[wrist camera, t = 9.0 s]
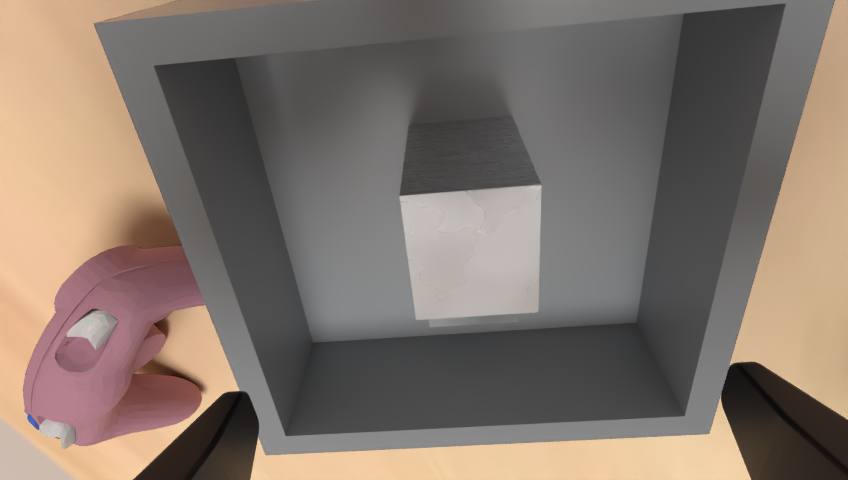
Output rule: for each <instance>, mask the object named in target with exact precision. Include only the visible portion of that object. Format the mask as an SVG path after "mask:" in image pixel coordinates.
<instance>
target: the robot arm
mask: <svg viewBox="0 0 848 480" xmlns="http://www.w3.org/2000/svg"><path fill="white" fill-rule="evenodd" d="M721 402H722V406H723V409H724V412H725V414H726V417H727V419H728V422H729V424H730V427H731V429H732V432H733V435H734V437H735V440H736V442H737V445H738V447H739V450H740V452H741V455H742V457H743V460H744V463H745V465H746V468H747V470H748V473H749V475H750V478H751V480H848V420H847V419H846V418H844V417H843V416H841V415H839V414H838V413H836V412H835V411H833V410H832V409H830V408H828V407H827V406H825V405H824V404H822V403H821V402H819V401H817V400H816V399H814V398H813V397H811V396H810V395H808V394H806V393H805V392H803V391H802V390H800V389H799V388H797V387H795V386H794V385H792V384H791V383H789V382H788V381H786V380H784V379H783V378H781V377H780V376H778V375H777V374H775V373H773V372H772V371H770V370H769V369H767V368H766V367H764V366H763V365H761V364H759V363H756V362H741V363H733V364H732V365H731V366H730V367H729V369H728V373H727V376H726V379H725V383H724V386H723V390H722V394H721ZM258 434H259V420H258V417H257V414H256V411H255V409H254V406H253V404H252V401H251V399H250V396H249V394H248V393H247V392H245V391H235V392H226V393H224V394H222V395H221V396H220V397H219V398H218V399H217V400H216V401H215V402H214V403H213V404H212V405H211V406H210V407H209V408H208V409H207V410H206V411H204V412H203V413H202V414H201V415H200V416H199V417H198V418H197V419H196V420H195V421H194V422H193V423H192V424H191V425H190V426H189V427H188V428H187V429H186V430H185V431H184V432H182V433H181V434H180V435H179V436H178V437H177V438H176V439H175V440H174V441H173V442H172V443H171V444H170V445H169V446H168V447H167V448H166V449H165V450H164V451H163V452H162V453H161V454H159V455H158V456H157V457H156V458H155V459H154V460H153V461H152V462H151V463H150V464H149V465H148V466H147V467H146V468H145V469H144V470H143V471H142V472H141V473H140V474H139V475H138V476H136V477H135V478H134V479H133V480H250V478H251V472H252V467H253V461H254V456H255V450H256V445H257V439H258Z"/></svg>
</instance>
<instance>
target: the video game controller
mask: <svg viewBox="0 0 848 480" xmlns="http://www.w3.org/2000/svg"><path fill="white" fill-rule="evenodd" d="M54 304H55V311H56V313H55V315H54V316H53V318H52V319H51V321H50V322H49V324H48V325H47V326H46V328H45V330H44V332H43V334H42V336H41V337H40V339H39V341H38V343H37V345H36V347H35V349H34V351H33V354H32V356H31V359H30V361H29V364H28V367H27V370H26V373H25V380H24V386H23V397H24V406H25V412H26V414H27V415H28V417H27V418H28V421H29V422H30V423H31V424H32V425H33V426H34V427H35V428H36V429H37V430H39V431H40V432H41V433H42V434H44V435H45V436H46V437H51V438H53V437H54V438H58V439H61V444H62V448H63V449H66V448H68V447H69V446H71V445H72V444H76V445H79V446H89V445H93V444H97V443H100V442H103V441H106V440H109V439H112V438H115V437H118V436H122V435H126V434H130V433H134V432H140V431H146V430H152V429H157V428H161V427H165V426H170V425H174V424H177V423H179V422H181V421H183V420H185V419H187V418H189V417H190V416H191V415H192V414H193V413H194V412H196V410H197V409H198V407H199V406H200V404H201V401H202V396H201V392H200V390H199V388H198V386H196V385H195V384H193V383H192V382H190V381H188V380H186V379H183V378H179V377H175V376H167V375H158V374H134V373H135V372H136V371H137V370H139V369H140V368H141V367H142V366H144V365H145V364H146V363H148V362H149V361H150V360H151V359H152V358H154V357H155V356H156V355H157V354H158V353H159V351H160V350H161V348H162V347H163V346H164V343H165V340H166V337H165V335H164V334H163V333H162V332H161V331H160V330H159V329H158V328H157V327H156V326H155V325H154V323H156V322H158V321H160V320H162V319H164V318H165V317H167V316H168V315H169V314H170V313H171V312H173V311H174V310H179V309H184V308H190V307H195V306H202V305H206V304H205V302H204V299H203V297H202V294H201V292H200V289H199V287H198V284H197V282H196V279H195V277H194V274H193V272H192V269H191V267H190V264H189V262H188V259H187V257H186V254H185V252H184V249H183V247H182V246H171V247H160V248H149V249H141V248H139V247H137V246H131V245H127V246H120V247H116V248H113V249H109V250H106V251H104V252H102V253H100V254H98V255H96V256H94V257H93V258H91V259H89V260H88V261H86V262H85V263H84V264H83V265H82V266H80V267H79V268H78V269H77V270H76V271H75V272H74V273H73V274H72V275H71V276H70V277H69V278H68V279H67V280H66V281H65V282H64V283H63V284H62V286H61V288H60V289H59V291H58V293H57V295H56V298H55V303H54Z"/></svg>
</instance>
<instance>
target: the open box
mask: <svg viewBox="0 0 848 480" xmlns="http://www.w3.org/2000/svg"><path fill="white" fill-rule="evenodd" d="M834 1H835V0H178V1H174V2H170V3H167V4H163V5H159V6H156V7H152V8H149V9H145V10H141V11H138V12H134V13H130V14H127V15H123V16H119V17H116V18H112V19H108V20H105V21H101V22H97V23H94V26H95V28H96V31H97V33H98V36H99V39H100V41H101V44H102V46H103V49H104V51H105V54H106V56H107V59H108V61H109V64H110V66H111V69H112V71H113V74H114V76H115V79H116V81H117V84H118V86H119V89H120V91H121V94H122V96H123V99H124V101H125V104H126V106H127V109H128V111H129V114H130V116H131V119H132V121H133V124H134V126H135V129H136V131H137V134H138V136H139V139H140V141H141V144H142V146H143V149H144V151H145V154H146V156H147V159H148V161H149V164H150V166H151V169H152V171H153V174H154V176H155V179H156V181H157V184H158V186H159V189H160V192H161V194H162V197H163V199H164V202H165V204H166V207H167V209H168V212H169V214H170V217H171V219H172V222H173V224H174V227H175V229H176V232H177V234H178V237H179V239H180V242H181V244H182V247H183V249H184V252H185V254H186V257H187V259H188V262H189V264H190V267H191V269H192V272H193V274H194V277H195V279H196V282H197V284H198V287H199V289H200V292H201V294H202V297H203V299H204V302H205V304H206V307H207V309H208V312H209V314H210V317H211V319H212V322H213V324H214V327H215V329H216V332H217V334H218V337H219V339H220V342H221V345H222V347H223V350H224V352H225V355H226V357H227V360H228V362H229V365H230V367H231V370H232V372H233V375H234V377H235V380H236V382H237V385H238V387H239V390H240V391H245V392H247V393H248V394H249V396H250V399H251V401H252V404H253V406H254V409H255V411H256V414H257V417H258V420H259V434H258V437H259V440H260V442H261V445H262V447H263V450H264V452H265V455H282V454H303V453H323V452H344V451H365V450H386V449H407V448H428V447H449V446H470V445H491V444H511V443H532V442H553V441H574V440H595V439H616V438H637V437H658V436H679V435H699V434H709V433H710V430H711V426H712V423H713V419H714V416H715V413H716V409H717V406H718V402H719V399H720V395H721V392H722V388H723V385H724V381H725V378H726V375H727V371H728V368H729V364H730V361H731V357H732V354H733V350H734V347H735V343H736V340H737V336H738V333H739V330H740V326H741V323H742V319H743V316H744V312H745V309H746V305H747V302H748V298H749V295H750V292H751V288H752V285H753V281H754V278H755V274H756V271H757V267H758V264H759V260H760V257H761V254H762V250H763V247H764V243H765V240H766V236H767V233H768V229H769V226H770V222H771V219H772V215H773V212H774V209H775V205H776V202H777V198H778V195H779V191H780V188H781V184H782V181H783V177H784V174H785V171H786V167H787V164H788V160H789V157H790V153H791V150H792V146H793V143H794V139H795V136H796V132H797V129H798V126H799V122H800V119H801V115H802V112H803V108H804V105H805V101H806V98H807V94H808V91H809V88H810V84H811V81H812V77H813V74H814V70H815V67H816V63H817V60H818V56H819V53H820V50H821V46H822V43H823V39H824V36H825V32H826V29H827V25H828V22H829V18H830V15H831V11H832V8H833V5H834ZM508 115H512V116H513V119H514V121H515V123H516V126H517V128H518V130H519V133H520V135H521V137H522V140H523V142H524V145H525V147H526V149H527V152H528V154H529V156H530V159H531V161H532V163H533V166H534V168H535V171H536V173H537V175H538V178H539V180H540V182H541V224H540V265H539V307H538V312H535V313H520V314H517V319H518V322H507V323H491V324H475V325H460V326H444V327H429V319H426V320H416V316H415V309H414V301H413V294H412V286H411V279H410V271H409V264H408V256H407V249H406V241H405V234H404V227H403V219H402V212H401V204H400V197H399V195H400V187H401V180H402V172H403V164H404V156H405V149H406V141H407V133H408V125H409V124H418V123H429V122H440V121H452V120H463V119H474V118H486V117H497V116H508Z"/></svg>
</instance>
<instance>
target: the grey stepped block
mask: <svg viewBox="0 0 848 480" xmlns="http://www.w3.org/2000/svg"><path fill="white" fill-rule="evenodd" d="M399 197H400V204H401V212H402V219H403V227H404V234H405V241H406V249H407V256H408V264H409V271H410V279H411V286H412V294H413V301H414V309H415V316H416V320H426V319H429V327H444V326H460V325H475V324H491V323H507V322H518V319H517V314H520V313H535V312H538V307H539V265H540V224H541V182H540V180H539V178H538V175H537V173H536V171H535V168H534V166H533V163H532V161H531V159H530V156H529V154H528V152H527V149H526V147H525V145H524V142H523V140H522V137H521V135H520V133H519V130H518V128H517V126H516V123H515V121H514V119H513V116H512V115H508V116H497V117H486V118H474V119H463V120H452V121H440V122H429V123H418V124H409V125H408V133H407V141H406V149H405V156H404V164H403V172H402V180H401V187H400V195H399Z"/></svg>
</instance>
